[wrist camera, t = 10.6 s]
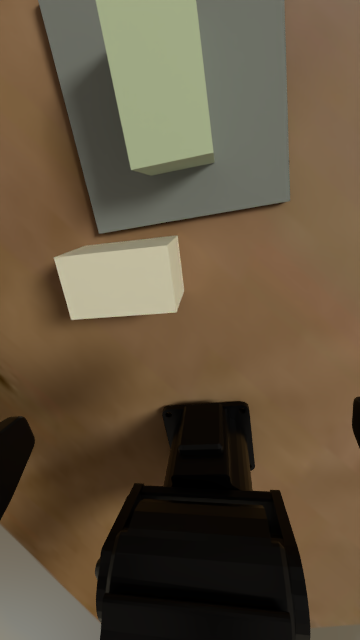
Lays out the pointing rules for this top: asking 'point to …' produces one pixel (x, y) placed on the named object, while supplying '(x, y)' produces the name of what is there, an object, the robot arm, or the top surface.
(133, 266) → the brick cream
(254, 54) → the coaster
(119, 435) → the top surface
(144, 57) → the brick sage
